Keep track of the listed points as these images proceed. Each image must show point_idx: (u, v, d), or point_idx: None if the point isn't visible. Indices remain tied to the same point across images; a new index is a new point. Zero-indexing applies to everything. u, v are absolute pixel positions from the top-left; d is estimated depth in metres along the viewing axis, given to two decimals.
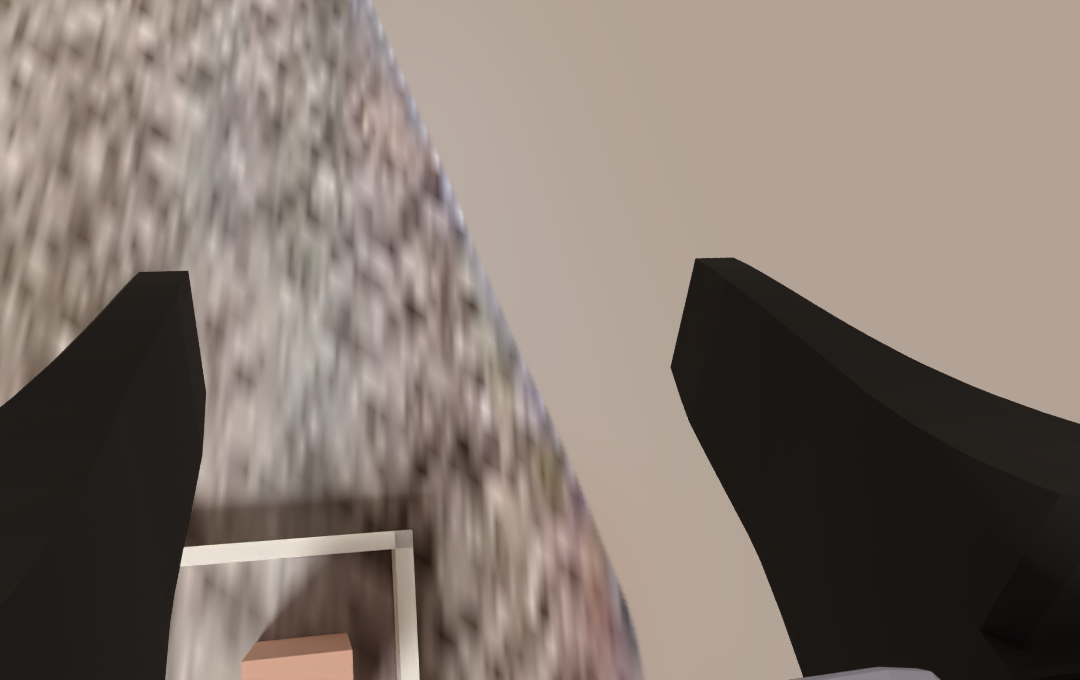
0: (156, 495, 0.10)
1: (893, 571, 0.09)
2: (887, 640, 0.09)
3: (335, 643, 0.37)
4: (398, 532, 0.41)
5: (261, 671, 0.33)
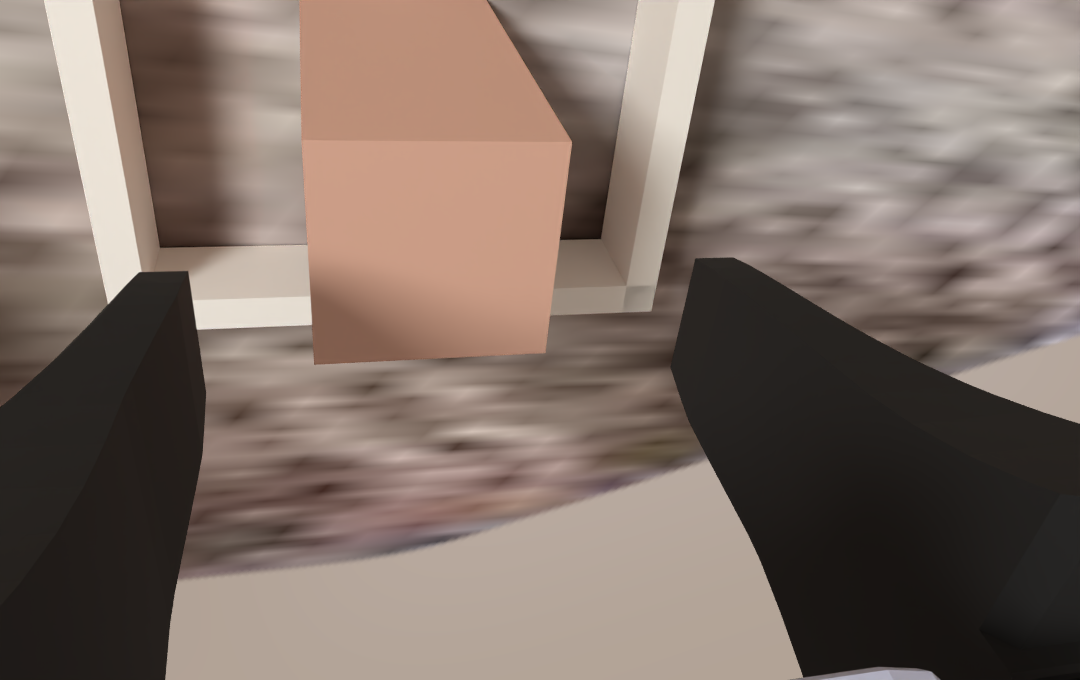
0: (156, 495, 0.10)
1: (893, 571, 0.09)
2: (887, 640, 0.09)
3: None
4: (652, 290, 0.23)
5: (540, 183, 0.14)
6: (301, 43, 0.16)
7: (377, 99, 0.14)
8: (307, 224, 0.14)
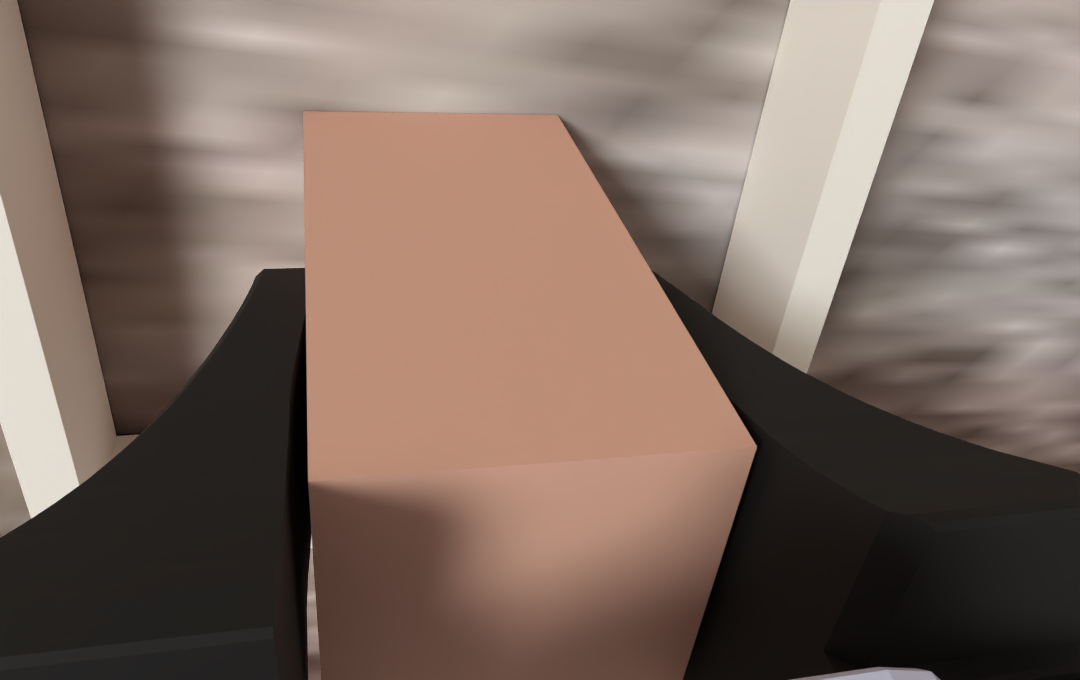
0: (301, 484, 0.10)
1: (755, 587, 0.09)
2: (751, 658, 0.09)
3: None
4: None
5: (699, 504, 0.09)
6: (306, 226, 0.11)
7: (430, 354, 0.09)
8: (317, 590, 0.08)
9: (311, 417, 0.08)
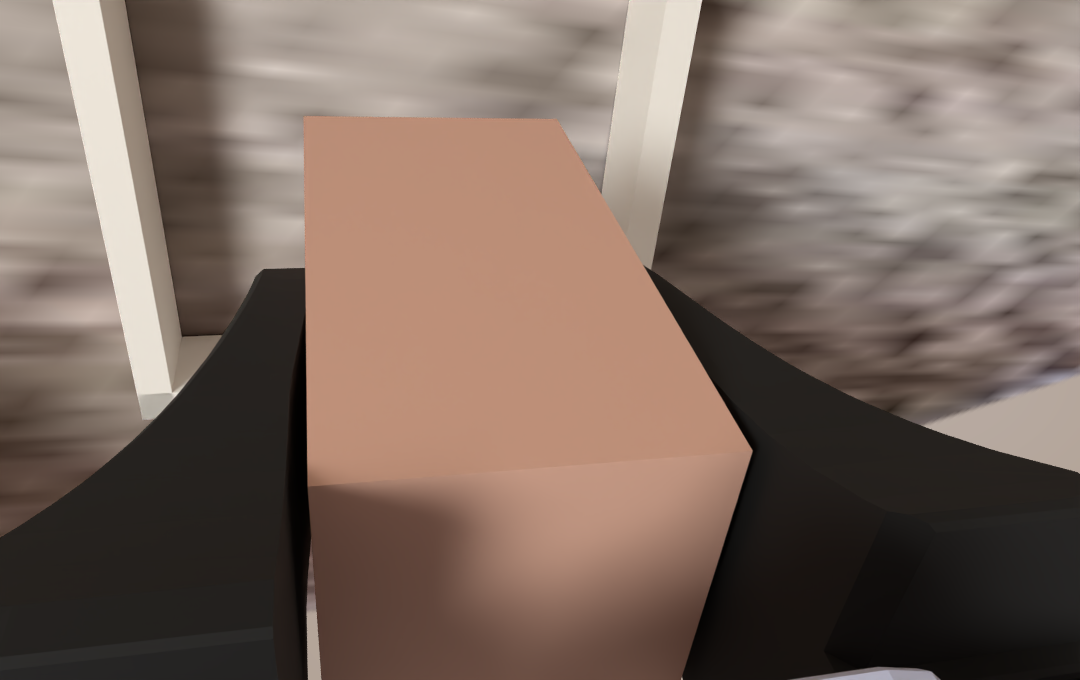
0: (300, 484, 0.10)
1: (755, 587, 0.09)
2: (751, 659, 0.09)
3: None
4: None
5: (695, 508, 0.09)
6: (306, 231, 0.11)
7: (428, 358, 0.09)
8: (316, 593, 0.08)
9: (311, 422, 0.08)
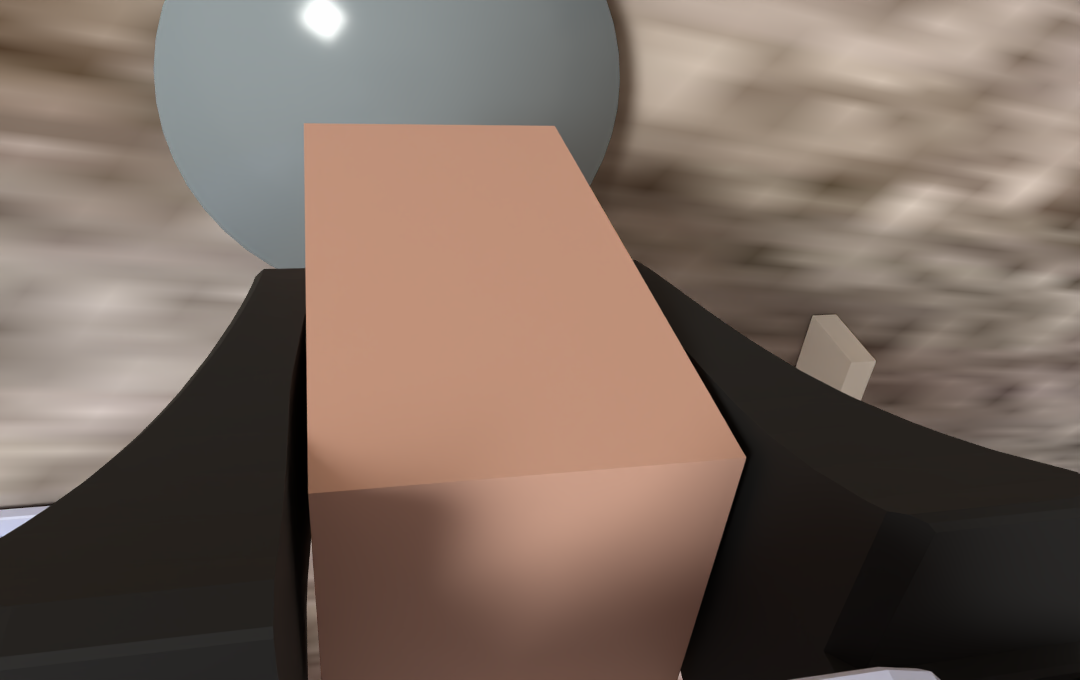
0: (300, 484, 0.10)
1: (755, 587, 0.09)
2: (751, 658, 0.09)
3: None
4: None
5: (690, 513, 0.09)
6: (307, 239, 0.11)
7: (426, 366, 0.09)
8: (317, 597, 0.08)
9: (311, 430, 0.08)
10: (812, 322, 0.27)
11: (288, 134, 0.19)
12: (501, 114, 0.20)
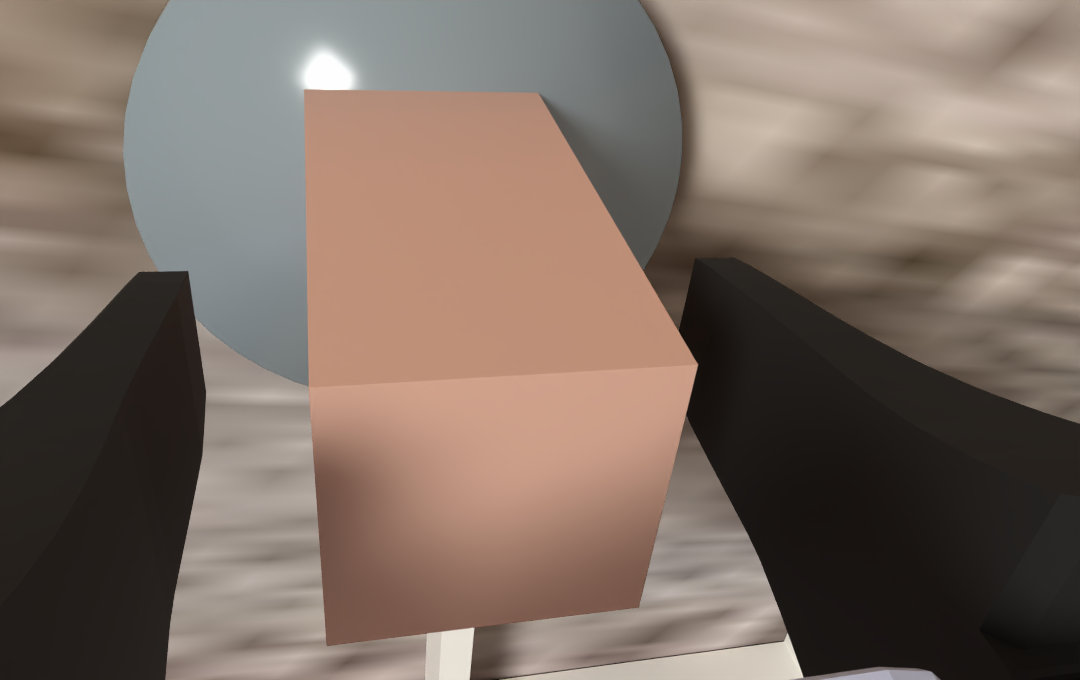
0: (156, 495, 0.10)
1: (893, 571, 0.09)
2: (887, 640, 0.09)
3: None
4: None
5: (649, 418, 0.10)
6: (307, 186, 0.12)
7: (414, 289, 0.10)
8: (317, 489, 0.09)
9: (311, 338, 0.09)
10: None
11: (287, 224, 0.16)
12: None
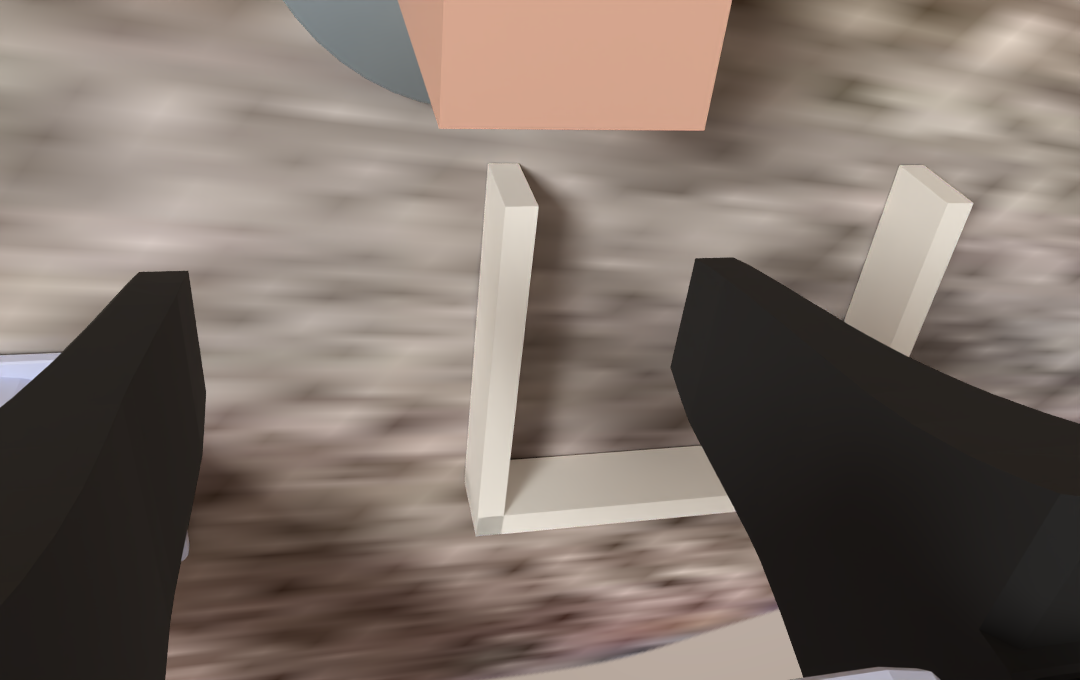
0: (156, 495, 0.10)
1: (893, 571, 0.09)
2: (887, 640, 0.09)
3: None
4: None
5: None
6: None
7: None
8: None
9: None
10: (899, 173, 0.26)
11: None
12: None
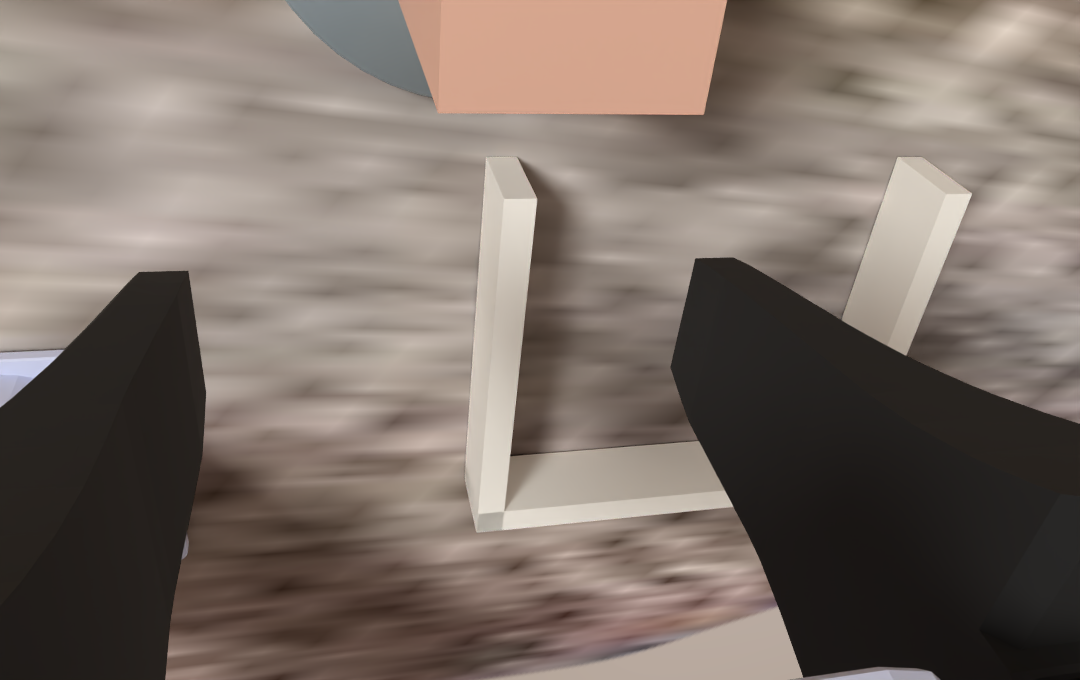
0: (156, 495, 0.10)
1: (893, 571, 0.09)
2: (887, 640, 0.09)
3: None
4: None
5: None
6: None
7: None
8: None
9: None
10: (897, 165, 0.26)
11: None
12: None
